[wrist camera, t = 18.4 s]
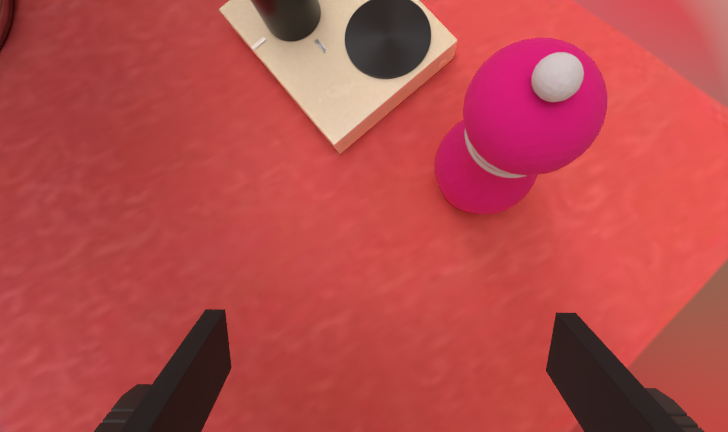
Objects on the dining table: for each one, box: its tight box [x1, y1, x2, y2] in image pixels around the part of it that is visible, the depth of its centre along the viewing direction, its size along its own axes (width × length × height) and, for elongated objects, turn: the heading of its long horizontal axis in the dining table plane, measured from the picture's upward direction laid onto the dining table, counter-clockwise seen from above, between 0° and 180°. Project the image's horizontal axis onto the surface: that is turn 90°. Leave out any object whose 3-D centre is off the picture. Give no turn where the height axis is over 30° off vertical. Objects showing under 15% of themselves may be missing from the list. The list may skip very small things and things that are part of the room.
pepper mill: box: [435, 38, 607, 214], centre depth 24 cm, size 7×7×20 cm
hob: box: [219, 0, 458, 154], centre depth 35 cm, size 16×13×3 cm
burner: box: [345, 0, 431, 79], centre depth 33 cm, size 7×7×1 cm
